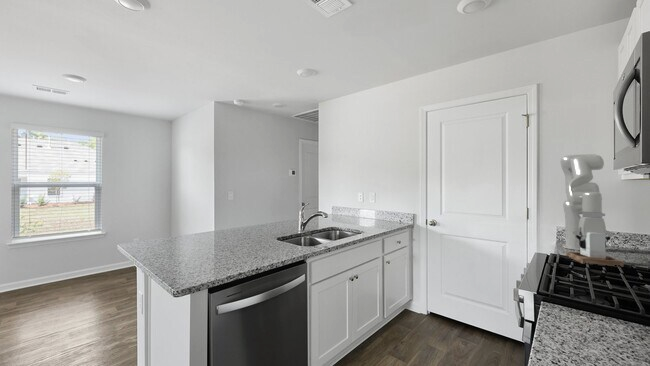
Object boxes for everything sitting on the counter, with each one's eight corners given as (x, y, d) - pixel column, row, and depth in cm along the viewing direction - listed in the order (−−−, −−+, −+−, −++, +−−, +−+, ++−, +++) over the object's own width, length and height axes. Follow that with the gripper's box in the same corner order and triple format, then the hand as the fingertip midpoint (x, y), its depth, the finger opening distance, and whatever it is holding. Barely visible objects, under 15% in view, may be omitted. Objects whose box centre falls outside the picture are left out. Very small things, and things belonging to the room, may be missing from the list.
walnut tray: (566, 256, 161) (566, 251, 161) (602, 258, 155) (602, 253, 155) (582, 263, 144) (582, 258, 144) (623, 266, 138) (623, 261, 138)
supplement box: (606, 258, 145) (605, 233, 145) (589, 257, 147) (589, 233, 147) (595, 254, 153) (595, 231, 153) (579, 254, 154) (579, 230, 154)
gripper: (608, 215, 151) (609, 248, 150) (568, 214, 157) (569, 246, 156) (617, 216, 144) (618, 251, 143) (575, 215, 150) (575, 248, 149)
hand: (592, 248), depth 150 cm, fingers closed on supplement box, 8 cm apart
